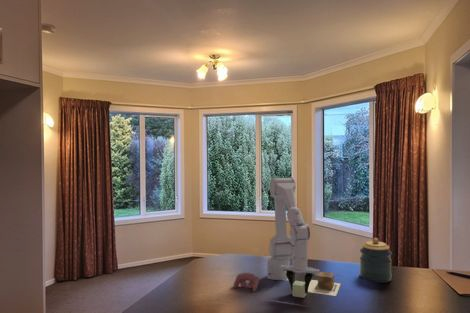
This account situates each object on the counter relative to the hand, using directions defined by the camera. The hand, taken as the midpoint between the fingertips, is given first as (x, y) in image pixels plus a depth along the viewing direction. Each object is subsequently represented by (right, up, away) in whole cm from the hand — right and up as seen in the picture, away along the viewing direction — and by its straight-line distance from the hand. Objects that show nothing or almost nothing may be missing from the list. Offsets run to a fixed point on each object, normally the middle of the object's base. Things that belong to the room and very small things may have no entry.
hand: (299, 291), depth 144 cm
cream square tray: (+11, -2, +7) cm, 13 cm away
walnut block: (+12, -1, +8) cm, 14 cm away
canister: (+36, -2, +19) cm, 41 cm away
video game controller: (-20, -2, +9) cm, 22 cm away
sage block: (0, -2, 0) cm, 2 cm away
